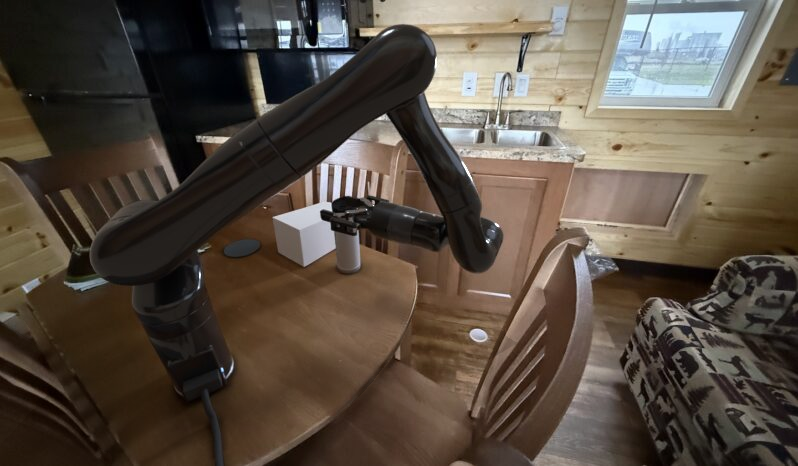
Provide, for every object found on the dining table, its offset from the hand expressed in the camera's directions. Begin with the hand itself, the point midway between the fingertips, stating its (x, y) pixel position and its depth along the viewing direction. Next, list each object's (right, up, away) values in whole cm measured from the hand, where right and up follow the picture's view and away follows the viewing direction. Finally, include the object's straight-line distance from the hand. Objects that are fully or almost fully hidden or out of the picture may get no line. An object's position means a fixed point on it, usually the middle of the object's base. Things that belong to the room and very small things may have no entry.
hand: (334, 206), depth 69 cm
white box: (-17, -8, +18) cm, 26 cm away
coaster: (-33, -10, +25) cm, 43 cm away
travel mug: (+1, -15, +18) cm, 23 cm away
